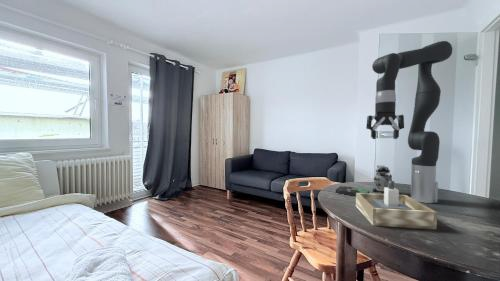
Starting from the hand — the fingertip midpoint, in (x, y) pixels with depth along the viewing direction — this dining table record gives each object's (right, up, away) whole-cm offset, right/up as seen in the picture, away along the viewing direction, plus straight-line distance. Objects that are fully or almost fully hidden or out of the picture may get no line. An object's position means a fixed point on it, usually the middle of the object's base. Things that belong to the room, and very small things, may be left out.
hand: (384, 138), depth 95 cm
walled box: (-4, -31, -10) cm, 32 cm away
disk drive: (-4, -30, +21) cm, 37 cm away
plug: (-4, -30, -10) cm, 32 cm away
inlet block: (-4, -30, -10) cm, 32 cm away
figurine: (+12, -29, +21) cm, 38 cm away
